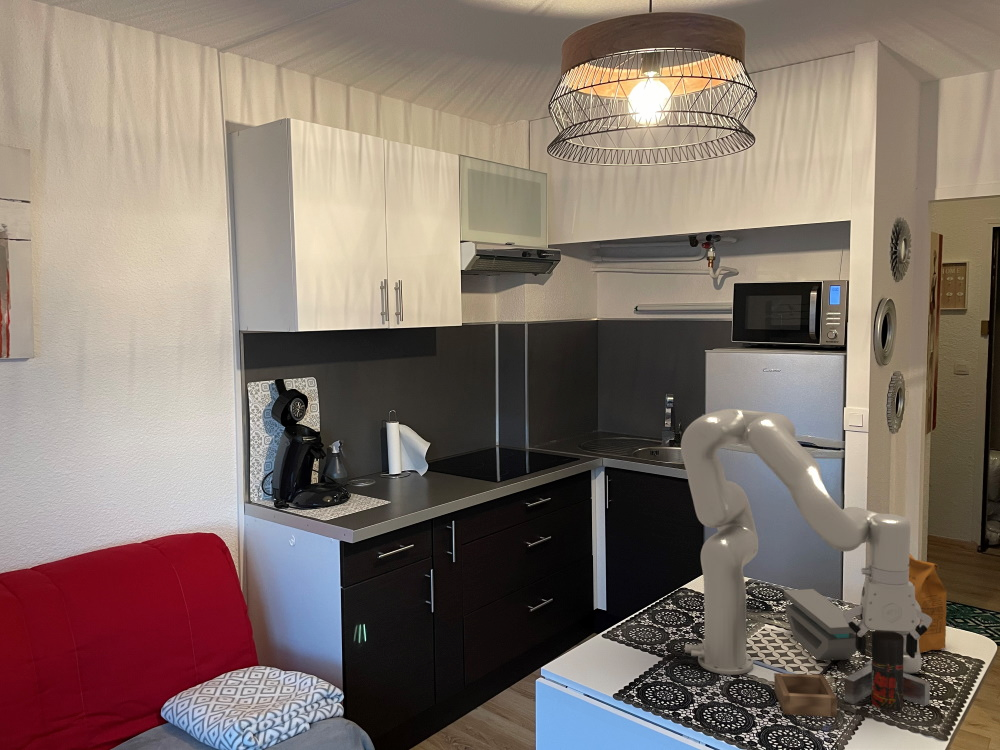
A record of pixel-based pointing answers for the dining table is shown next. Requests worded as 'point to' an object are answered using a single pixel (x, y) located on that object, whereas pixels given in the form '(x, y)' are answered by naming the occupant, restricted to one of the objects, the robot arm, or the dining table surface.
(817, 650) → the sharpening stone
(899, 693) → the deodorant
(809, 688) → the block
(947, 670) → the dining table surface
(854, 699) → the v block
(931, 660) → the dining table surface
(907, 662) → the plastic bottle
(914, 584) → the coffee package
